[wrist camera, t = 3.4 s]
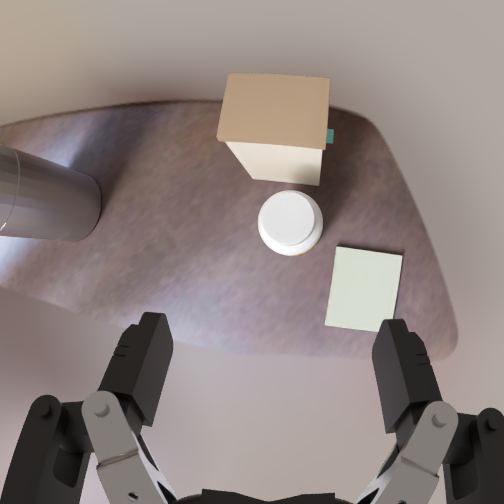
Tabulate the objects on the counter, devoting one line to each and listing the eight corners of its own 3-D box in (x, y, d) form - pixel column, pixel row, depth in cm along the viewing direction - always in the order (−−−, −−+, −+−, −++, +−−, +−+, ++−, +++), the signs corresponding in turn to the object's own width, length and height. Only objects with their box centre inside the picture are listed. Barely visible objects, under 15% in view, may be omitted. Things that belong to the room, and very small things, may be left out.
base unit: (249, 180, 33) (215, 137, 21) (256, 133, 33) (227, 73, 21) (326, 188, 32) (334, 147, 19) (330, 140, 32) (338, 79, 19)
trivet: (324, 323, 32) (324, 325, 31) (336, 246, 32) (336, 246, 31) (388, 331, 30) (389, 332, 30) (400, 255, 30) (402, 255, 30)
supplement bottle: (261, 246, 33) (241, 241, 24) (277, 197, 33) (263, 173, 23) (311, 263, 32) (311, 265, 23) (327, 213, 32) (333, 194, 22)
